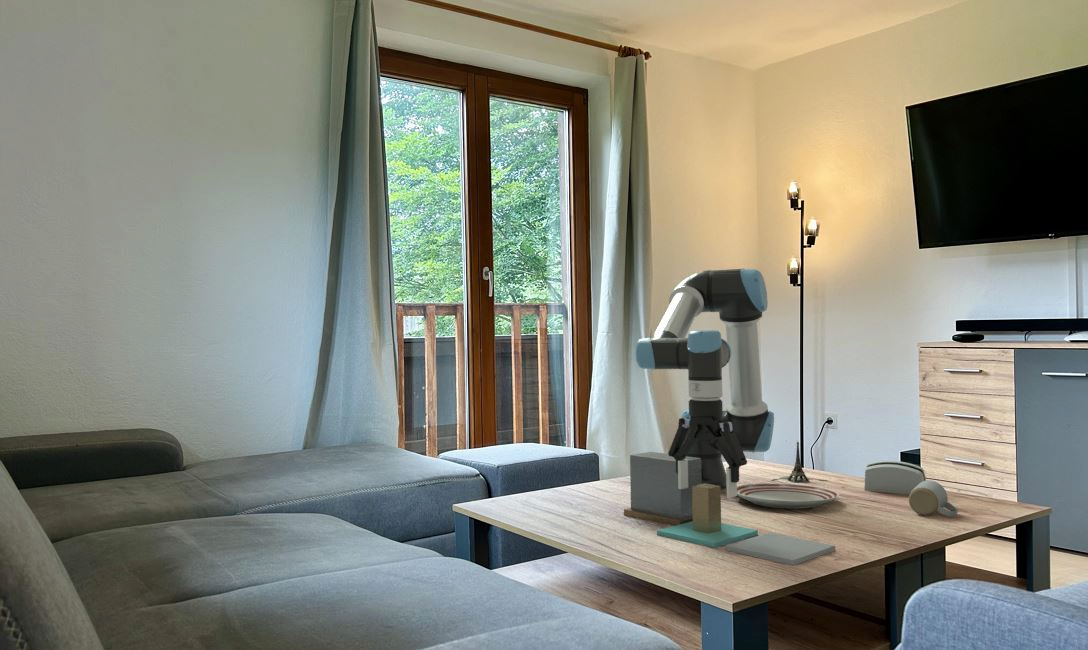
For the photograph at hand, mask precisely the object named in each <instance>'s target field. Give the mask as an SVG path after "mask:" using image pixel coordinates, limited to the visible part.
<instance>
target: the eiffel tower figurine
mask: <svg viewBox="0 0 1088 650" xmlns="http://www.w3.org/2000/svg"><path fill="white" fill-rule="evenodd" d="M799 446H800V442H799V441H797V442H796V453H795V463H794V466H793V467H794V468H793V469H792V470H791V473H790V475H789V476H783V477H779V478H773V479H769V480H770V482H775V481H779V480H786V481H788V482H791V483H792V484H799V483H803V484H806V483H811V481H810V480H812V481H813V480H814V481H819V482H829V480H828V479H815V478H808V477H807V476H806V474H805V471H804V470H803V466H802V463H801V458H800V457H801V456H800V447H799Z"/></svg>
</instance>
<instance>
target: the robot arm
mask: <svg viewBox="0 0 1088 650" xmlns="http://www.w3.org/2000/svg"><path fill="white" fill-rule="evenodd" d="M768 305H769V304H768V292H767V285H766V282H765V278H764V276H763V274H762V272H761V271H759V269H754V268H751V269H750V268H747V269H746V268H736V269H735V268H734V269H733V268H732V269H715V270H714V269H713V270H711V269H710V270H709V269H708V270H702V271H698V272H696V273H695V272H694V273H693V274H691V275H688V277H686V278H684V279H683V280H681V282H679V283H678V284H677V285H676V286H675V287H674V288H673V289H672V290H671V293H670V295H669V297H668V307H667V309H666V311H665V313H664V315H663V316H662V318H661V320H660V321H659V324H658V325H657V327H656V330H655V332H654V333H653V335H652V337H647V338H646V337H645V338H644V337H643V338H639V339H638V341H637V342H636V345H635V359H636V364H637V366H638V367H639V368H640V369H644V370H645V369H646V370H687V371H688V372H687V373H688V379H687V380H688V397H689V398H691V399H689V401H688V409H685V410H684V411H682V413H681V417H680V418H678V425H677V426H678V427H677V429H676V433H675V434H674V437H673V440H672V443H671V444H670V447H669V450H668V452H667V454H668V455H669V456H672V457H673V458H675V460H676V473H677V474H678V489H684V488H688V460H686V459H685V457H686V456H688V457H695V458H701V478H702V484H704V483H705V484H711V485H718V486H721V489H726V498H727V499H728V498H729V499H730V498H735V497H737V496H738V495H737V486H738V482H740V467H742V466H746V465H747V464H748V460H747V457H746V455H745V453H746V452H747V453H765V452H767V451H769V450H770V449H771V445H772V439H773V432H774V425H775V413H774V412H773V411H769V407H768V406H769V405H768V404H767V402H766V401H763V398H762V396H763V395H762V380H761V365H760V349H759V332H758V322H759V321H760V320H761V319H762V317H763V313H764V312H765V311H767V310H768ZM702 313H718V314H719V315H718V317H719V320H720V321H721V322H722V323H723V324H724V325H725V331H726V332H725V333H726V334H725V335H726V340H725V339H724V338H722V334H721V332H720V331H719V330H715V329H714V330H708V329H707V330H704V329H703V330H691V331H690V328H691V326H692V325H693V322H694V320H695V318H697V317H698V316H699V315H700V314H702ZM727 365H728V374H729V375H728V376H729V390H730V402H729V403H728V404H727V405H726V408H725V410H723V400H722V399H720V398H722V397H723V377H722V376H723V373H722V370H723V368H724V367H725V366H727ZM684 459H685V460H684ZM723 459H724V460H725V462H726V464H727V465H728V467H726V469H725V466H724V463H723Z"/></svg>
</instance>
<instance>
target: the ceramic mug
mask: <svg viewBox="0 0 1088 650" xmlns="http://www.w3.org/2000/svg"><path fill="white" fill-rule="evenodd" d="M908 495H909V496H908V503H909V506H910V508H911V510H912V511H913V512H914V513H916V514H918V515H919V516H920V515H921V516H931V515H935V514H936V513H939V514H941V515H943V516H945V517H948V518H955V517H957V514H958V512H959V510H958V508H957V507H956V506H954V505H953V504H952V503H950V501H949V502H948V493H947V491H946V489H945V487H944V486H943V485H941V483H939V482H936V481H934V480H927V479H926V481H923V482H921V483H919V484H918V485H917V486H916V487H915V488H914V489H913V490H912V491H911V493H910V494H908Z"/></svg>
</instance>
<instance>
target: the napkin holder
mask: <svg viewBox="0 0 1088 650" xmlns="http://www.w3.org/2000/svg"><path fill="white" fill-rule="evenodd" d="M864 470H865V472H864V473H865V474H864V491H867V492H881V493H890V494H891V493H892V494H901V495H910V493H911V491H912V490H913V489H914V488H915V487H916V486H917V485H918V484H919V483H921V482H923V481H927V478H926V474H925V469H924V468H923V467H922V466H919V465H916V464H913V463H911V462H905V461H899V460H882V461H881V460H880V461H875V462H870V463H868V464H867V466H866V468H865V469H864Z"/></svg>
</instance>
